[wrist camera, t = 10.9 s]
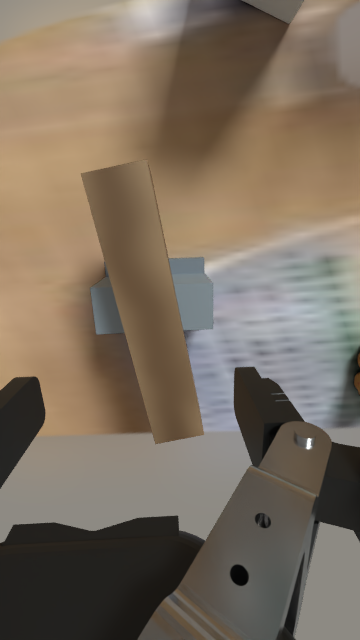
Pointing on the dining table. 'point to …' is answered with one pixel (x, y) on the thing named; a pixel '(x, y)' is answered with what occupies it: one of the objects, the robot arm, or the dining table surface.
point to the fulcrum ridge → (190, 294)
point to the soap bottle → (278, 8)
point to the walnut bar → (145, 295)
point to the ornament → (357, 377)
